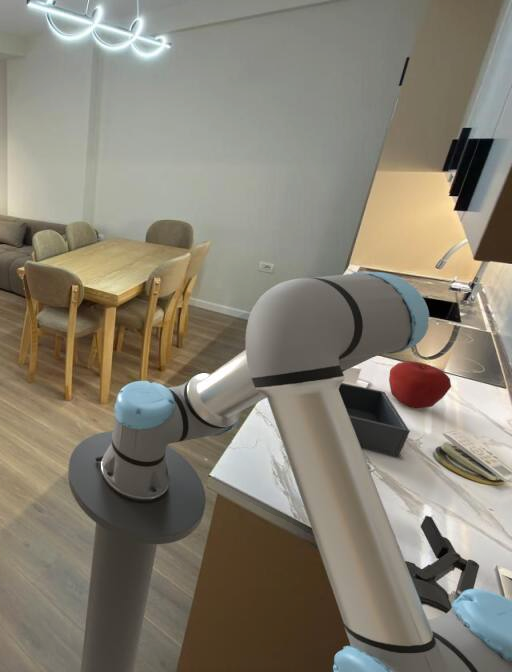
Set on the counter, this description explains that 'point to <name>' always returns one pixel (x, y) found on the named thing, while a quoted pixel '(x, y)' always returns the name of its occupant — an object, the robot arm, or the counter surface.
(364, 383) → the napkin holder
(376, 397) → the storage bin
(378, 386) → the counter surface
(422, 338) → the robot arm
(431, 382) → the apple
